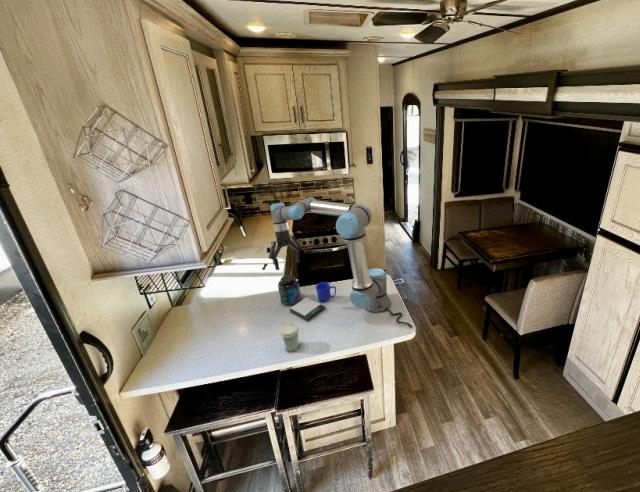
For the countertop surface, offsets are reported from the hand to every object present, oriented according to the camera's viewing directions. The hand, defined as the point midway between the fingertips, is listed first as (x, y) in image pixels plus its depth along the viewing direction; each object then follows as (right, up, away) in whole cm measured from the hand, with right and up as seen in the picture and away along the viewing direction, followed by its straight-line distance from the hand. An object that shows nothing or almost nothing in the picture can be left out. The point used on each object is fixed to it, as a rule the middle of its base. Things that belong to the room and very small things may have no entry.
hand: (288, 266), depth 190 cm
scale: (+11, -27, +3) cm, 29 cm away
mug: (+20, -22, +13) cm, 33 cm away
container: (-2, -23, +12) cm, 26 cm away
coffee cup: (+10, -38, -24) cm, 46 cm away
